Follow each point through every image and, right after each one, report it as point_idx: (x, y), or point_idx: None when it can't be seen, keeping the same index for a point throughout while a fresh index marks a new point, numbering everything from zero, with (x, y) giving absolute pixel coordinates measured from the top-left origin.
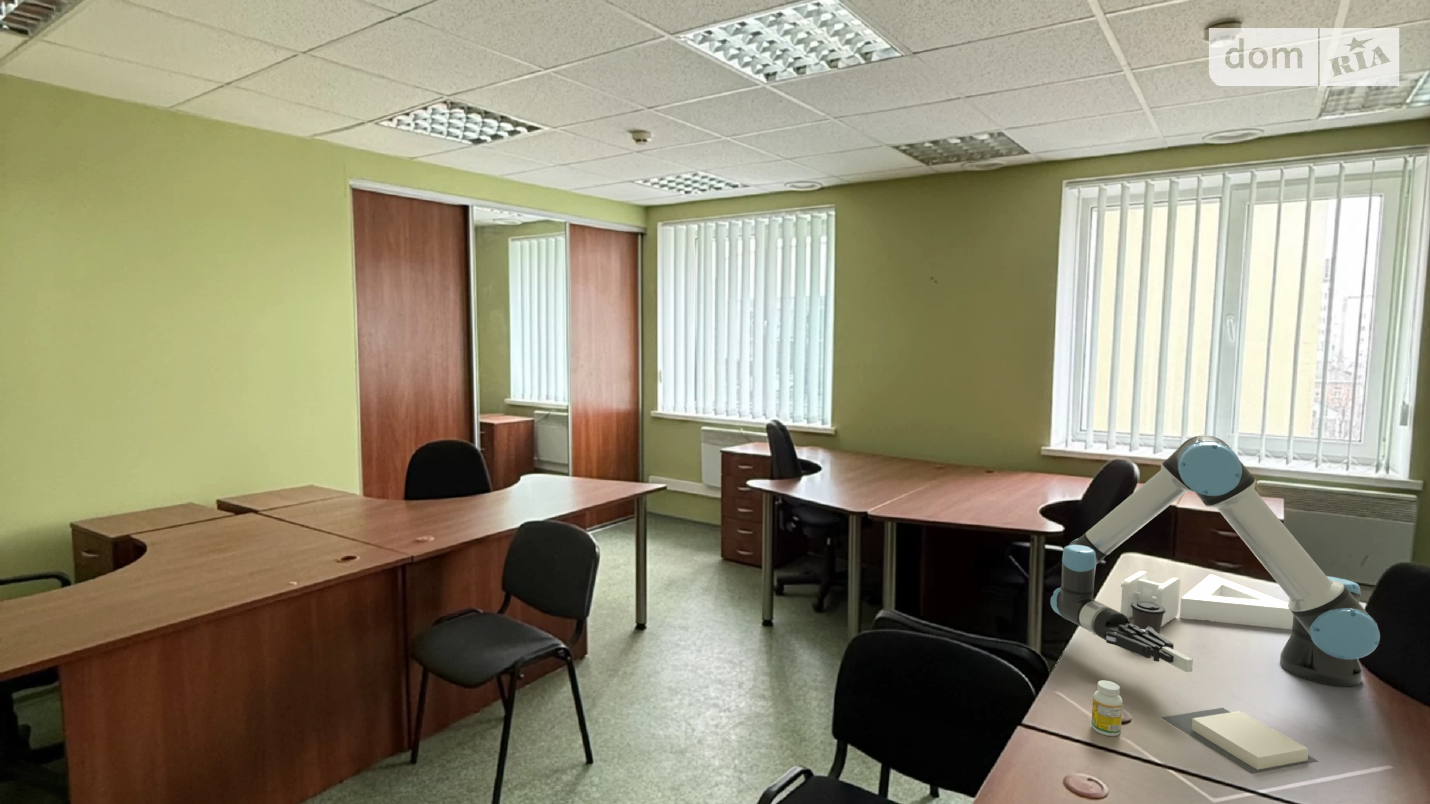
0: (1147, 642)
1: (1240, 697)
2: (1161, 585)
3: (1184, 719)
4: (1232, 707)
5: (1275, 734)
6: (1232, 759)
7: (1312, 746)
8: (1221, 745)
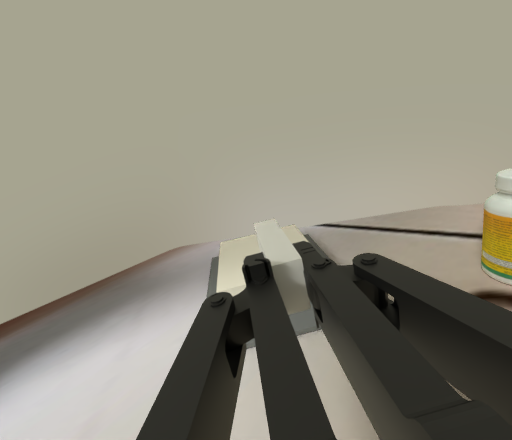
0: (351, 295)
1: (76, 430)
2: None
3: None
4: (163, 374)
5: (229, 254)
6: (312, 245)
7: (178, 283)
8: None
